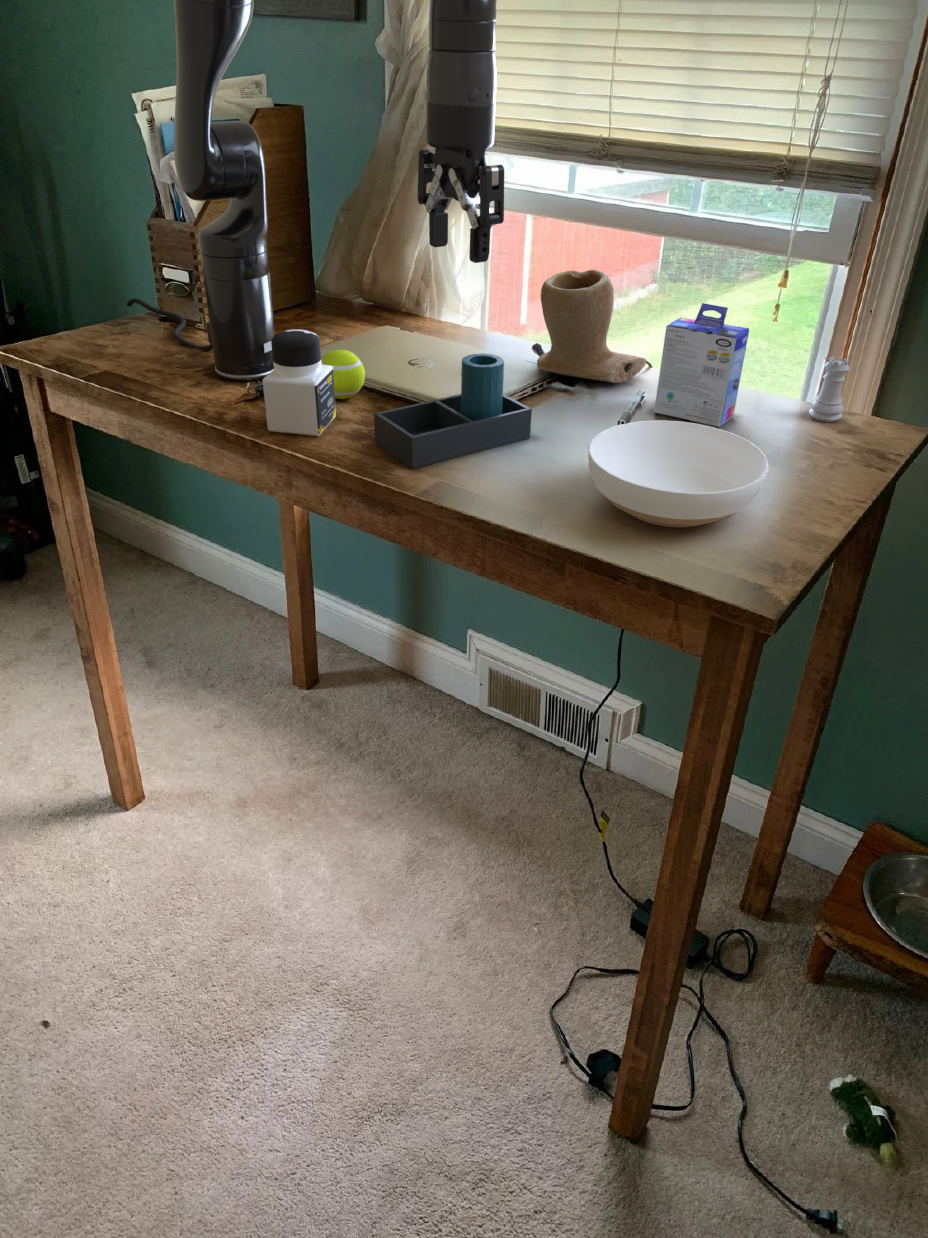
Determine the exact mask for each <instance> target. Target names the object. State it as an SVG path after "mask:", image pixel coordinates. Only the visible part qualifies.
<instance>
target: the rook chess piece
mask: <svg viewBox="0 0 928 1238" xmlns="http://www.w3.org/2000/svg"><path fill="white" fill-rule="evenodd" d="M823 366H824V369H825V374H824V375H823V376H822V377H823V382H822V386H821V389H820V392H819V393H818V395H817V396H816V397H815V399H814V400H813V401H812V402H811V403H810V407H811V408H810V409H809V410H808V412H809V416H810V417H811V418H812V419H814V420H816V421H818V422H822V423H835V422H838V421H839V420H841V419H842V418H843V414H842V412H843V411H844V409H845V406H844V404H843V403H842V402H843V400H842V389H843V383H844V382H845V380H846V378H845V375H846V373H847V372H848V371H849V370H850V369H851V367H850V366H849V359H848V358H843V357H842V356H838V359H837V357H836V356H831V357H828V359H827V362H825V364H824V365H823Z"/></svg>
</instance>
